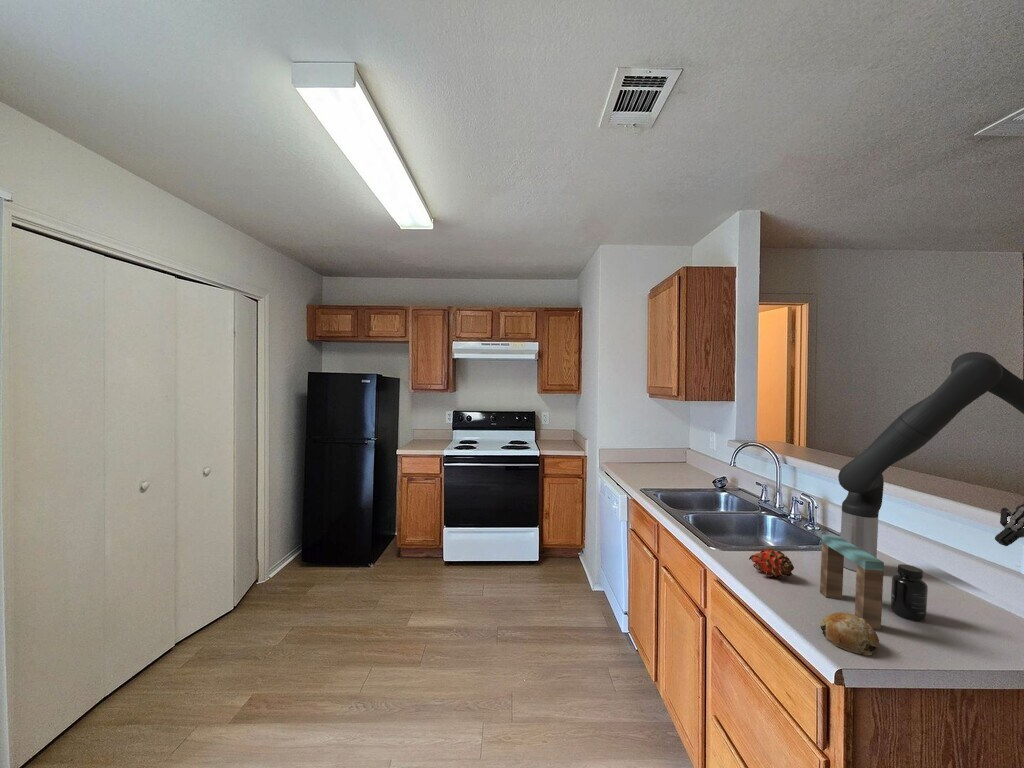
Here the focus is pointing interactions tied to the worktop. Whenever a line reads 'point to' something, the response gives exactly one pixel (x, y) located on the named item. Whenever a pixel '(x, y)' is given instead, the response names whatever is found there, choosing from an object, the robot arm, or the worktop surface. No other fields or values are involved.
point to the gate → (866, 577)
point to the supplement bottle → (909, 593)
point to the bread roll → (850, 633)
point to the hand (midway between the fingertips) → (1000, 542)
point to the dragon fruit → (772, 563)
